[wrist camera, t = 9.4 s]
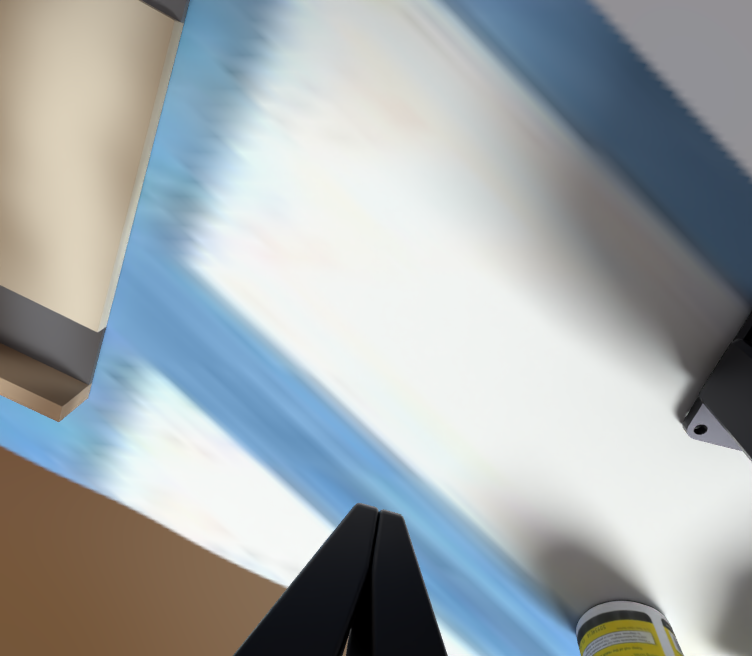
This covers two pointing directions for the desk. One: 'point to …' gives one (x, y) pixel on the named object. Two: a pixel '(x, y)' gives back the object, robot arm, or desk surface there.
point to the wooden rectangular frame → (72, 178)
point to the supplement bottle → (625, 631)
